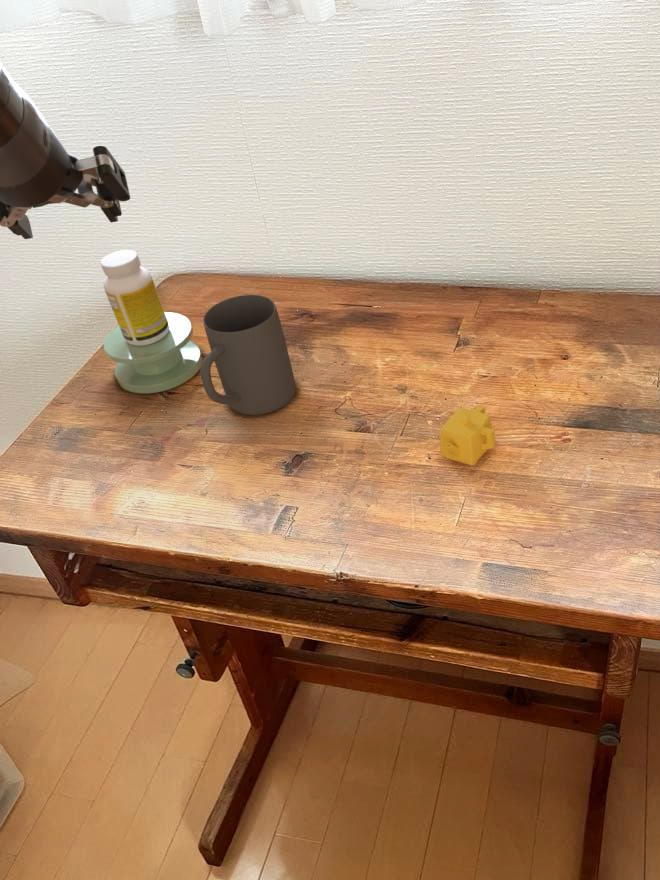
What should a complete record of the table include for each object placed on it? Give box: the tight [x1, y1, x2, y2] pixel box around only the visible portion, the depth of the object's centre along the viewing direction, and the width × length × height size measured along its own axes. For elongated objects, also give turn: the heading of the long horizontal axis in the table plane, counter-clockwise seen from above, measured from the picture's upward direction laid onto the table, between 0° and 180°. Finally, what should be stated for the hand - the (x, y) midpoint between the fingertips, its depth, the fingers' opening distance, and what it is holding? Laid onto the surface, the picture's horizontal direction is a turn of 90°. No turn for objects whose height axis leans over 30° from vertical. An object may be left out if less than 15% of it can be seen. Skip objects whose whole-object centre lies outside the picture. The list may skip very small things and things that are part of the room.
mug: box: [199, 294, 296, 416], centre depth 103 cm, size 14×9×12 cm
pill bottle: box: [100, 249, 169, 346], centre depth 108 cm, size 6×6×11 cm
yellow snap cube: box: [439, 405, 497, 467], centre depth 93 cm, size 8×6×5 cm
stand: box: [103, 311, 204, 394], centre depth 114 cm, size 12×12×5 cm
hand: (70, 221), depth 83 cm, fingers open, 8 cm apart
